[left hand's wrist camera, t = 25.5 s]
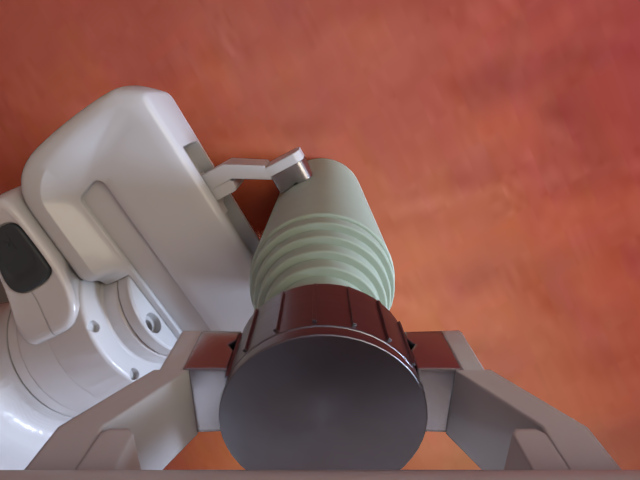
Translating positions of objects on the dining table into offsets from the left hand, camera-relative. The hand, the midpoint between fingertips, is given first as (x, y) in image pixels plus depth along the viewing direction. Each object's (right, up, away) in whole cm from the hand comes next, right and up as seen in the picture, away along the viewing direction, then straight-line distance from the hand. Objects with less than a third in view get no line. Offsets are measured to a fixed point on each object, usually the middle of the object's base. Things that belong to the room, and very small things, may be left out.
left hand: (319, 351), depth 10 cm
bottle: (0, +6, +15) cm, 16 cm away
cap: (0, -1, -2) cm, 2 cm away
